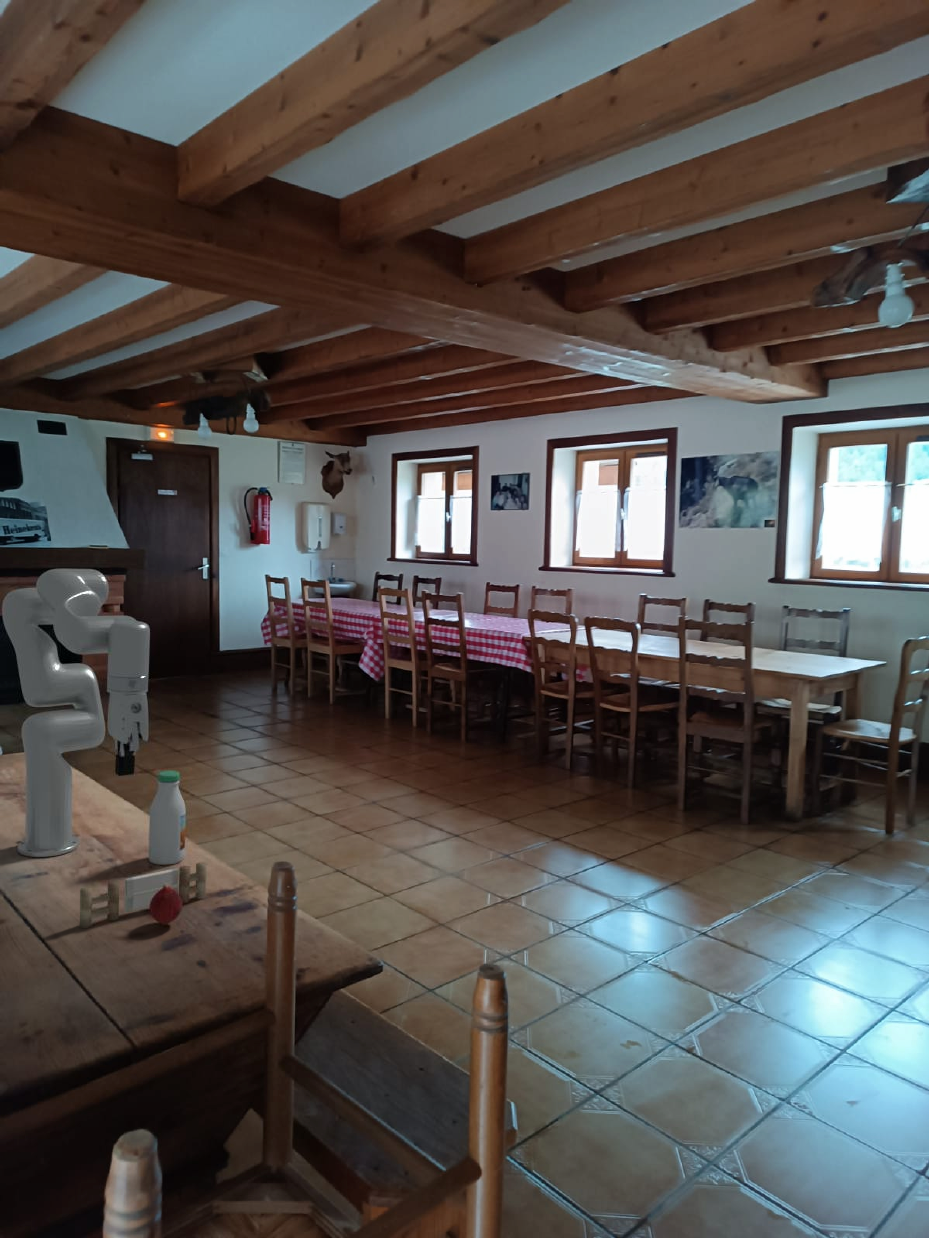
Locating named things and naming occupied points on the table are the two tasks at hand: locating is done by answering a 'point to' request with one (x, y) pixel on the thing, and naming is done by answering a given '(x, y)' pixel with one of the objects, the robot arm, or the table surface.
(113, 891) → the fence
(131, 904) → the gate
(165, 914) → the onion
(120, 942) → the table surface
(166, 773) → the milk bottle
